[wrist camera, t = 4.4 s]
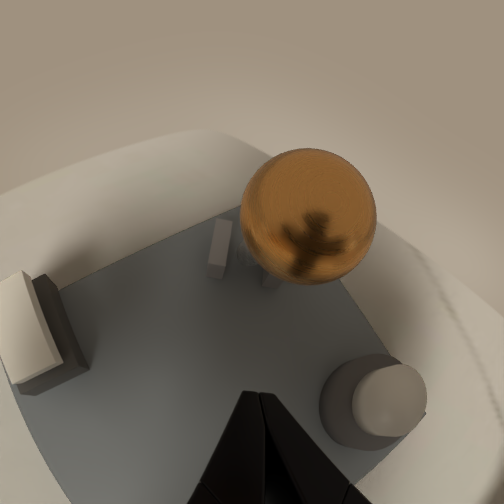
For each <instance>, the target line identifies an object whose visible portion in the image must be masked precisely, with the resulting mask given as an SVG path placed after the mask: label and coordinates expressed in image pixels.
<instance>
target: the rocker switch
mask: <svg viewBox="0 0 504 504" xmlns="http://www.w3.org/2000/svg"><path fill="white" fill-rule="evenodd" d="M0 356H1V359H2V361H3V364H4V366H5V369H6V371H7V374H8V376H9V379H10V381H11V383H12V384H20V383H24V382H26V381H28V380H30V379H32V378H34V377H36V376H38V375H40V374H42V373H44V372H46V371H48V370H50V369H52V368H54V367H56V366H58V365H60V364H62V363H64V362H63V360H62V358H61V356H60V354H59V351H58V349H57V347H56V345H55V342H54V340H53V338H52V335H51V333H50V330H49V328H48V325H47V323H46V320H45V318H44V315H43V312H42V310H41V307H40V304H39V301H38V299H37V296H36V293H35V290H34V287H33V284H32V281H31V277H30V276H29V275H27V274H26V273H25V272H23V271H22V270H21V271H19V272H17V273H15V274H13V275H12V276H10V277H8V278H6V279H5V280H3V281H1V282H0Z"/></svg>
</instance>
